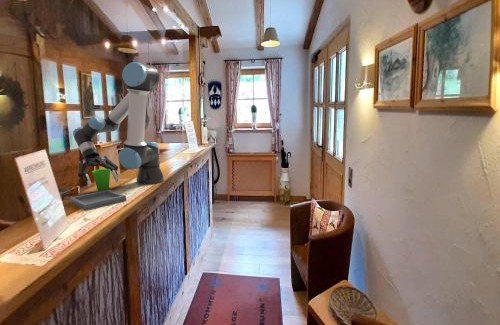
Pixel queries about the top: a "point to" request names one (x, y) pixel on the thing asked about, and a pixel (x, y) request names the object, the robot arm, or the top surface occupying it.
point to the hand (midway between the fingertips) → (104, 183)
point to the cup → (102, 179)
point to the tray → (97, 199)
